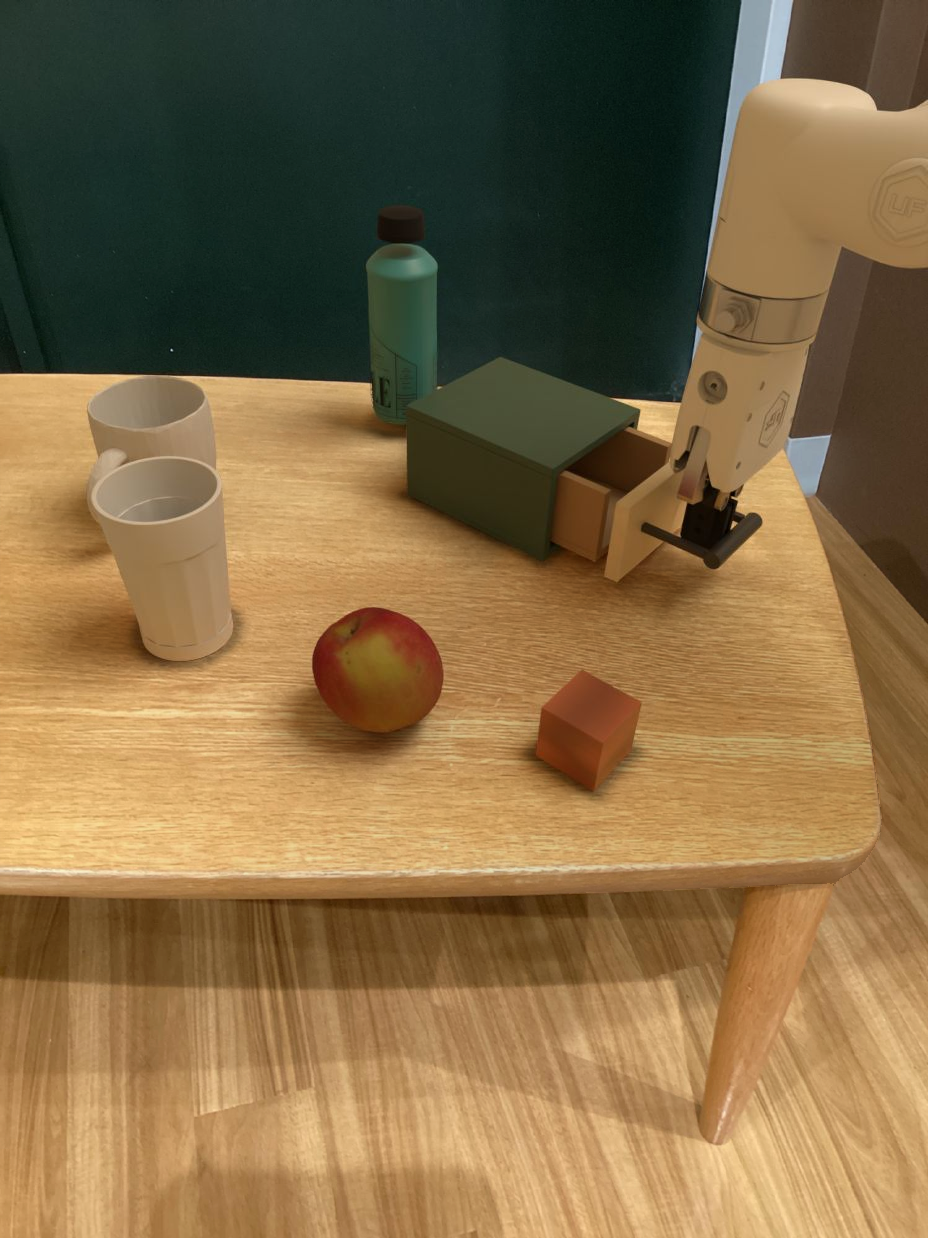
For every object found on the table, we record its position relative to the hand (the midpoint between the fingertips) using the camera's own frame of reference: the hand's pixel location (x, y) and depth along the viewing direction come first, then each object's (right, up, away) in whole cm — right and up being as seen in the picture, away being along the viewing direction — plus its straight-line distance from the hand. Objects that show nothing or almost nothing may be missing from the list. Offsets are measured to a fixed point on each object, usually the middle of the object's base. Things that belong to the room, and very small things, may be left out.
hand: (702, 540), depth 70 cm
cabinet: (-14, +5, +10) cm, 18 cm away
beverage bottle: (-24, +13, +20) cm, 34 cm away
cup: (-38, -7, -4) cm, 39 cm away
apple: (-24, -12, -10) cm, 29 cm away
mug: (-44, +2, +6) cm, 44 cm away
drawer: (-6, +1, +5) cm, 8 cm away
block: (-11, -14, -12) cm, 22 cm away
